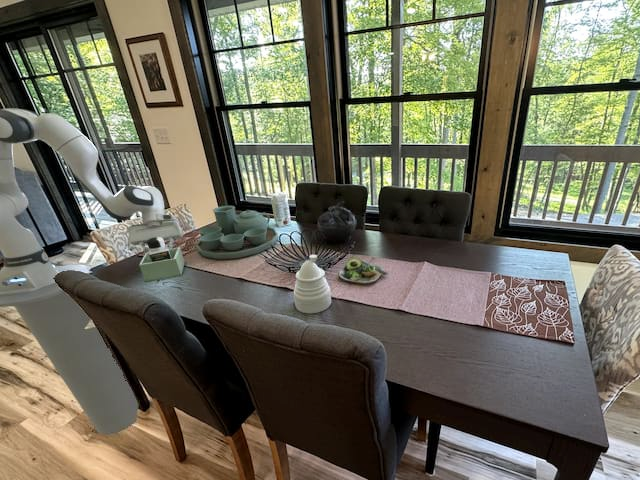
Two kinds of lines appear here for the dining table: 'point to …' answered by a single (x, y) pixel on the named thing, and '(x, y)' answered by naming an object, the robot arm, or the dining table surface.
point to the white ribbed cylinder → (280, 209)
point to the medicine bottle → (158, 249)
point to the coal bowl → (337, 223)
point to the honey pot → (311, 288)
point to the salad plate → (361, 272)
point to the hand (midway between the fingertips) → (158, 250)
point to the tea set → (236, 234)
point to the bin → (162, 266)
